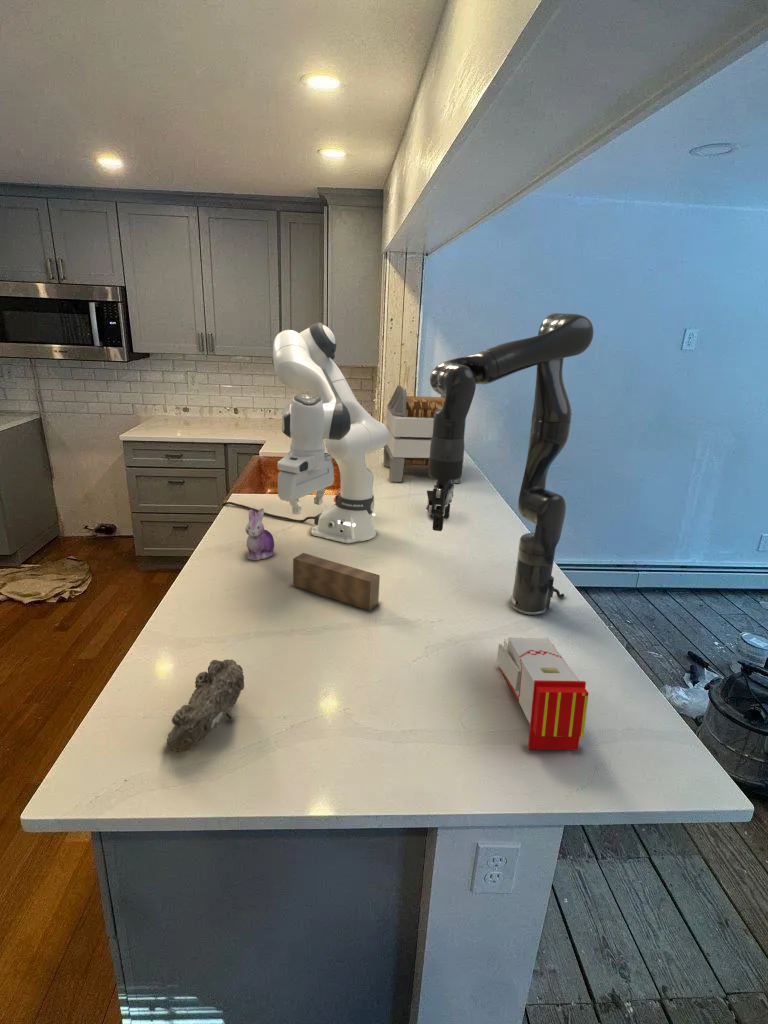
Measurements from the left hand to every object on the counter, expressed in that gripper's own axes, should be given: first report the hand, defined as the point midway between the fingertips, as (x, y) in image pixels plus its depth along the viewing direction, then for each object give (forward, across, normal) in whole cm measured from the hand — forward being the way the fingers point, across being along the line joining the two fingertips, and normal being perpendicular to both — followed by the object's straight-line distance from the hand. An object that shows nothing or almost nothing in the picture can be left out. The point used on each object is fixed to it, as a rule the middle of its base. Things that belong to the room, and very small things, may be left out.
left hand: (307, 508), depth 152 cm
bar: (+23, 0, +9) cm, 25 cm away
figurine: (+23, -8, -25) cm, 35 cm away
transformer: (+23, -125, -27) cm, 130 cm away
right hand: (-5, +2, +40) cm, 40 cm away
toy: (+23, +15, +69) cm, 74 cm away
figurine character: (+23, -76, +4) cm, 80 cm away
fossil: (+23, +53, +18) cm, 61 cm away
